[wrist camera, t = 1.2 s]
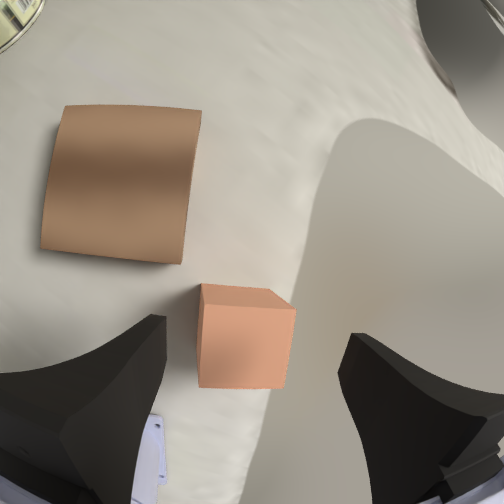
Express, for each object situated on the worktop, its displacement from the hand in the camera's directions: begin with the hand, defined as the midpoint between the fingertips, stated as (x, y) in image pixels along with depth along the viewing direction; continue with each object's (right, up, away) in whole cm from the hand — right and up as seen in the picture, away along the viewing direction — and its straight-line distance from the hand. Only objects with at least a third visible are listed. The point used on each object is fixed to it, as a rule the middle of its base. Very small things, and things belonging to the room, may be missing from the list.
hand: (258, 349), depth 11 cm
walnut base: (-10, +9, +9) cm, 15 cm away
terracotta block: (-2, -1, +11) cm, 11 cm away
